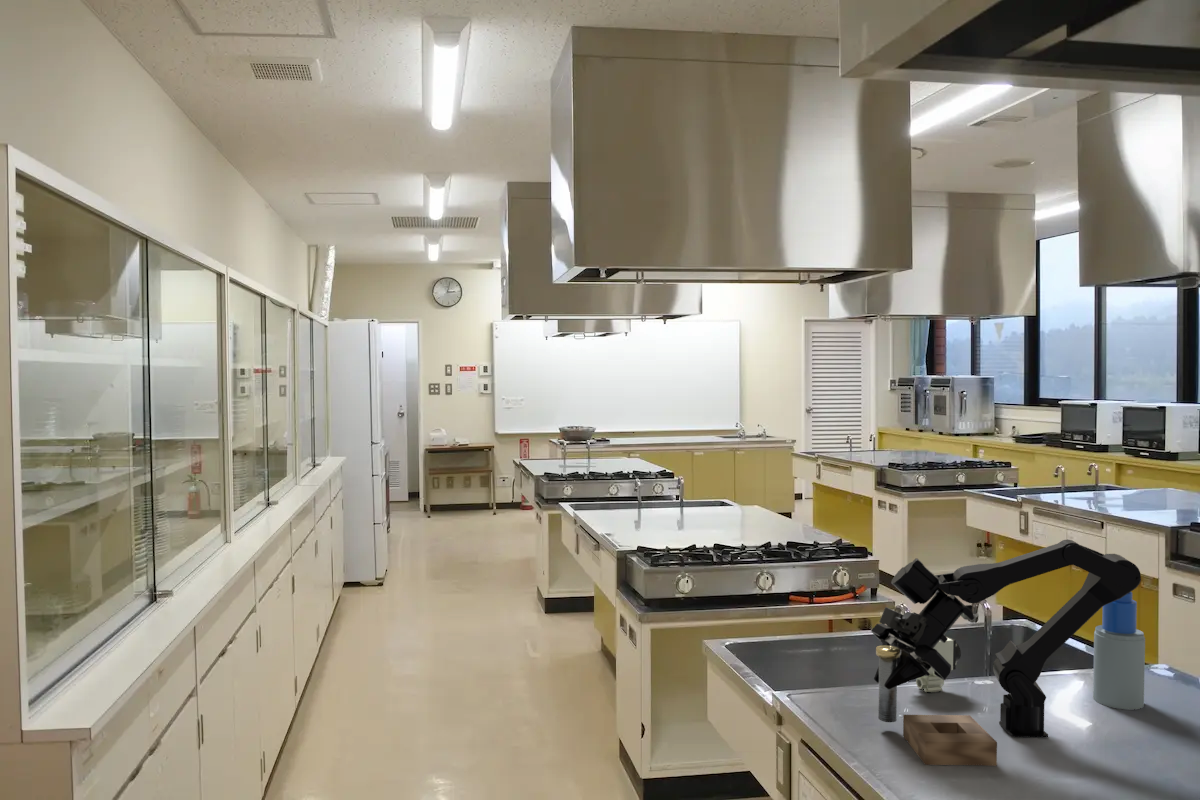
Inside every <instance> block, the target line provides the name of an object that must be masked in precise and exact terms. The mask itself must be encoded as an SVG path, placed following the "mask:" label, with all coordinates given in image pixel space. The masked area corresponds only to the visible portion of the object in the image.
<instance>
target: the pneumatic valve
mask: <svg viewBox="0 0 1200 800" xmlns="http://www.w3.org/2000/svg"><path fill="white" fill-rule="evenodd" d="M945 636H946V638H947V641H946V642H945V643H943V642H941V641H939V642H938V643H937V644H936V646H935V647H934V648H933V649H935V650H937V651H938V652H939V653H940V654H941V655H942V657H943V658H944V659H945V660H946V661H947V662H948V663H949V664H950V665H951V671H953V670H956V666H957V662H959V661H960V659H961V655H962V652H961V651H962V650H961V647H960V644H959V643H958V642H957V640H956V639H955V638H952V637H950V636H947V635H945ZM906 648H907V647H906ZM914 652H915V651H914ZM928 673H929V674H930V675H929V676H922V677H920V678H917V679H915V683H916V686H917V688H918V689H919V690H923V689H924V690H923V691H924V693H927V692H931V693H940V692H939V691H941V692H942V691H943V687H944V685H945V680H943V679H941V678H939V677H937V676H936V675H935V674H934V669H933V668H932V667H931V668H930V669H929V670H928Z"/></svg>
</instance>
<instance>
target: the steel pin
mask: <svg viewBox="0 0 1200 800" xmlns="http://www.w3.org/2000/svg"><path fill="white" fill-rule="evenodd" d="M875 655H876V656H877V657H878V666H879V683H878V720H879V721H880V722H885V723H895V722H897V717H898V716H897V715H898V713H897V712H898V711H897V708H898V707H897V703H898V702H897V698H898V695H897V694H898V692H897V690H898V688H897V687H898V686H896V687H894V688H891V689H887V688H886V687H885V686H884V685H885V683H886V681H887V679H888V678H889V676H890V675H891V674H892V672H893V671H894V670H895V668H896V667H897V658H899V657H900V649H899V648H897V647H894V646H888V645H878V646H876V648H875Z"/></svg>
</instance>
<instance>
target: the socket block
mask: <svg viewBox="0 0 1200 800" xmlns="http://www.w3.org/2000/svg"><path fill="white" fill-rule="evenodd" d="M902 717H903V719H902V720H903V723H902V725H903V727H902V729H903V730H902V732H903V733H902V734H903V735H902V736H904V737H903V738H904V739H905V741H906V740H907V741H908V742H907V741H906V742H907V743H908V745H910V747H911V748H912V750H913V751H914V752H915V753H916V755H917V756H918V757H919V759H920V760H921V762H922V763H923V764H924V765H925V766H926V765H929V766H930V765H931V766H989V767H990V766H993V767H995V766H997V765H998V762H997V761H998V760H997V759H998V757H997V756H998V742H997V740H995V739H994V738H993V737H992V736H991V735H990V734H989V733H988V732H987V731H986V729H984V728H983V727H982V726H981V724H979V723H978V722H977V721H976V720H975V719H974V718H973V717H972V716H971V715H969V714H966V715H964V714H962V715H961V714H960V715H959V714H957V715H956V714H903V716H902Z"/></svg>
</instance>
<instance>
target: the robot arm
mask: <svg viewBox="0 0 1200 800" xmlns="http://www.w3.org/2000/svg"><path fill="white" fill-rule="evenodd" d="M1068 566H1075V567H1078V568H1080V569H1082V570H1084V571H1086V572H1088V573H1087V575H1086V578H1085V581H1084V582H1083V584H1082V587H1081V588H1080V589H1079V590H1078V591H1077V592H1076V593H1075V594H1074V595H1072V597H1070V599H1069V600H1068V601H1067V602H1066V603H1065V604H1063V605H1062V606H1061V607H1060V608H1059V609H1058V611H1056V612H1055V613H1054V614H1053V615H1052V616H1051V617H1050V618H1049V619H1048V620H1047V621H1046V622H1045V623H1044V624H1043V625H1042V626H1041V627H1040V628H1039V629H1037V631H1036V632H1034V634H1033V635H1032V636H1031V637H1030V638H1029V639H1027V640H1026V641H1024V642H1022V643H1020V644H1017V645H1016V644H1015V643H1014V642H1013V641H1012V640H1009V641H1008V642H1007V643H1006V645H1005V646H1004V648H1003V649H1001V650H1000V651H998V652H996V653H995V655H994V656H995V659H994V661H993V664H992V667H993V668H992V671H993V674H994V676H995V678H996V679H997V682H998V684H999V686H1001V688H1002V689H1003V690H1004V691H1005V692H1007V693H1008V694H1003V695H1002V697H1003V698H1002V699H1003V701H1002V702H1001V703H1000V708H999V709H1000V712H999V713H1000V714H999V715H1000V718H999V721H998V723H999V725H1000V726H1001V728H1003V729H1004V730H1005V731H1006V732H1007V733H1008V734H1009V735H1010V736H1011V737H1014V738H1049V734H1048V733H1047V731H1046V730H1045V702H1046V699H1047V695H1046V694H1045V693H1044V691H1043V690H1042V688H1041V687H1040V686H1039V684H1038V682H1037V680H1039V677H1040V676H1041V673H1042V671H1043V669H1044V667H1045V665H1046V662H1047V661H1048V660H1049V658H1051V656H1053V655H1054V654H1055V653H1056V652H1057V651H1058V650H1059V649H1060V648H1061V647H1062V646H1063V645H1064V644H1065V643H1066V642H1067V641H1069V639H1071V637H1073V636H1074V635H1075V634H1076V633H1077V632H1078V630H1080V629H1081V628H1082V627H1083V626H1084V625H1086V623H1087V622H1088V621H1089V620H1091V618H1093V616H1094V615H1096V614H1097V612H1098V611H1100V609H1101V608H1102V609H1103V606H1104V605H1106V604H1109V603H1111V602H1114V601H1116V600H1118V599H1121V598H1122V597H1124V596H1125V595H1127V594H1128V593H1130V592H1133V591H1135V590H1136V589H1137V588H1138V587H1139V585H1140V584H1141V581H1142V578H1141V571H1140V569H1139V567H1138V566H1137V565H1136V564H1135V563H1133V562H1132V561H1130V560H1129V559H1127V558H1125V557H1123V556H1122V555H1120V554H1117V553H1106V554H1104V553H1101V552H1099V551H1097V550H1094V549H1092V548H1089V547H1087V546H1084V545H1082V544H1079V543H1078V542H1076V541H1074V540H1072V539H1062V540H1060V542H1058V543H1054V544H1052V545H1049V546H1046V547H1043V548H1040V549H1037V550H1034V551H1031V552H1028V553H1025V554H1022V555H1021V554H1020V555H1018V556H1015V557H1012V558H1008V559H1006V560H1002V561H999V562H993V563H977V564H971V565H964V566H960V567H959V568H957V569H955V570H954V572H949V573H948V572H947V573H942V574H936V575H935V574H934V573H933V572H932V571H931V570H930V569H929V568H927V567H926V566H925V565H924V564H923V562H922V561H921V560H920V559H919V558H915V559H914V560H912V561H911V562H909V563H908V564H906V565H905V566H904V567H903V566H902V567H901V568H900V569H899V570H898V571H897V573H896V574H894V577H893V578H892V579H891V582H890V583H891V584H892V586H894V587H895V588H896V589H897V590H898V591H899V592H900V593H901V594H903V595H904V596H905V597H906V598H907V599H908V600H909V601H910V602H912V603H913V604H914V605H915V604H918V603H919V604H921V605H924V604H926V605H925V606H924V607H923V608H922V610H921V611H920V612H919V613H917V612H910V611H906V612H905V613H904V614H902V613H900V612H899V611H895V610H894V609H891V608H889V607H886V606H885V607H884V610H883V612H882V615H881V617H880V619H879V623H876V624H875V626H874V627H873V628H871V630H870V632H871V634H872V635H873V636H875V638H877V640H878V641H880V643H881V644H882V645H888V646H894V647H897V648H899V649H900V657H899V658H897V667H896V668H895V670H894V671H893V672H892V674H891V675H890V676H889V678H888V679H887V681H886V683H885V685H884V686H885V687H886V688H887V689H891V688H894V687H896V686H897V687H899V686H901V685H903V684H906V683H908V682H910V681H913V680H916V679H917V678H920V677H922V676H929V675H930V674H929V673H928V670H929V669H930V668H931V667H932V668H933V669H934V674H935V675H936V676H937V677H939V678H941V679H943V680H944V681H946V680H948V678H949V676H950V675H951V674H952V670H951V665H950V664H949V663H948V662H947V661H946V660H945V659H944V658H943V657H942V655H941V654H940V653H939V652H938V651H937V650H935V649H933V648H934V647H935V646H936V644H937V643H938V642H939V641H941V642H943V643H945V642H946V641H947V638H946V636H947V635H946V634H947V633H948V632H949V630H950V629H951V628H952V627H953V625H954V624H956V622H957V621H958V620H959V618H960V617H961V618H963V619H964V620H966V621H973V620H975V616H974V612H973V605H972V604H977V603H981V602H982V601H984V600H986V599H988V598H990V597H992V596H995V595H997V593H998V592H1000V591H1001V590H1002V589H1003V588H1006V587H1008V586H1010V585H1012V584H1015V583H1019V582H1021V581H1024V580H1028V579H1031V578H1034V577H1038V576H1040V575H1044V574H1046V573H1049V572H1053V571H1055V570H1059V569H1062V568H1065V567H1068ZM958 597H959V598H960V599H961V600H962V601H961V600H960V599H958ZM927 602H928V603H927ZM963 602H966V603H968V604H964V603H963ZM882 645H881V646H882ZM906 647H907V648H906ZM914 651H915V652H914ZM873 679H874V681H875V682H876V683H877V684H879V665H878V667H877V670H876V672H875V675H874V678H873Z"/></svg>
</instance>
